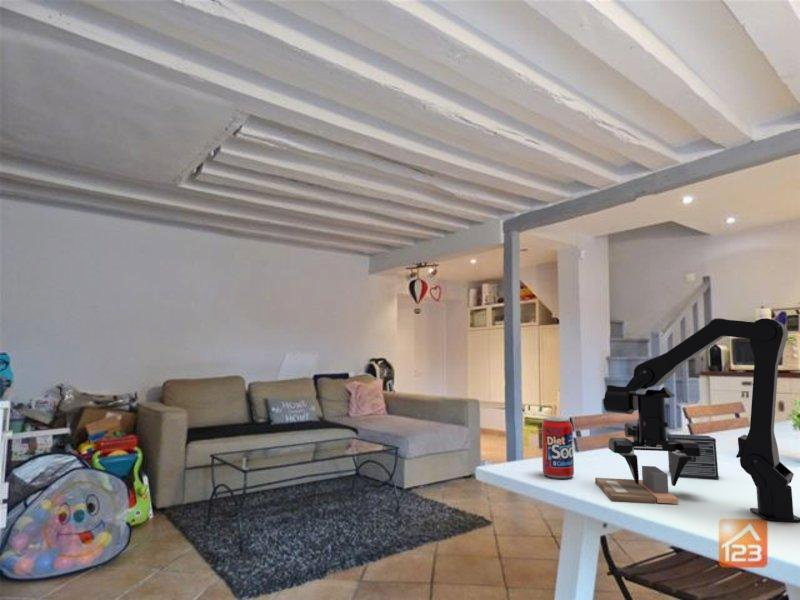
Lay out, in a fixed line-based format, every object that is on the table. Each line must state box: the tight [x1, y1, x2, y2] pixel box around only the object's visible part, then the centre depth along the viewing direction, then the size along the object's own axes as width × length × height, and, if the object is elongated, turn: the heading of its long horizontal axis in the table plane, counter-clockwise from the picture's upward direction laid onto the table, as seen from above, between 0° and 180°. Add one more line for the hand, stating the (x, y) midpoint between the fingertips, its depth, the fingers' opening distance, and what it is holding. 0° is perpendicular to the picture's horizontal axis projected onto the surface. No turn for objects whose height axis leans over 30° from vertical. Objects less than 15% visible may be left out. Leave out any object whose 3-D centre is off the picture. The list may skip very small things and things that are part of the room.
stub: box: [638, 465, 679, 505], centre depth 115 cm, size 16×4×5 cm, turn 171°
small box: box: [666, 433, 720, 480], centre depth 133 cm, size 11×6×10 cm, turn 74°
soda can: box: [541, 416, 575, 480], centre depth 131 cm, size 8×8×15 cm
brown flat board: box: [594, 477, 657, 504], centre depth 116 cm, size 16×9×1 cm, turn 171°
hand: (654, 484), depth 115 cm, fingers open, 8 cm apart
